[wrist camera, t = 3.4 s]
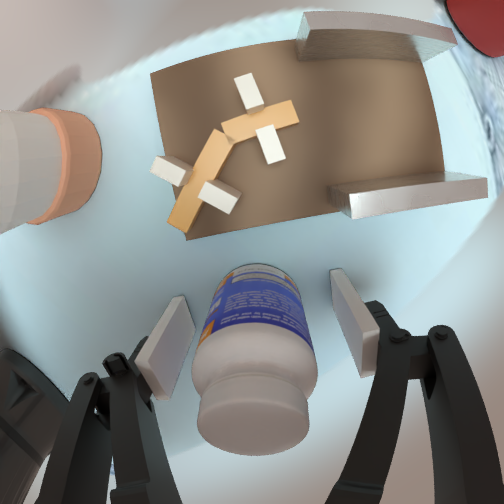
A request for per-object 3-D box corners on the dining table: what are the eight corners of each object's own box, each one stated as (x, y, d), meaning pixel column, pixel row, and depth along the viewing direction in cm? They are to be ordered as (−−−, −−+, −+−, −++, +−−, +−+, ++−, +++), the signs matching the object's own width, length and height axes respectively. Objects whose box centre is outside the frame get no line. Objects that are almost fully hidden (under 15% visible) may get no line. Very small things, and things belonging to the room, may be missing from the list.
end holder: (329, 203, 14) (352, 219, 10) (294, 46, 11) (303, 11, 7) (446, 186, 13) (487, 197, 9) (417, 49, 10) (451, 28, 6)
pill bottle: (210, 263, 16) (154, 379, 7) (300, 259, 16) (339, 377, 7) (220, 336, 18) (192, 459, 9) (299, 334, 18) (319, 459, 8)
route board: (190, 235, 16) (186, 240, 15) (156, 78, 13) (150, 73, 12) (438, 192, 14) (446, 194, 13) (407, 47, 11) (414, 42, 10)
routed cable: (176, 231, 15) (161, 244, 12) (149, 115, 13) (129, 109, 10) (312, 204, 14) (321, 213, 12) (286, 81, 12) (290, 66, 10)
